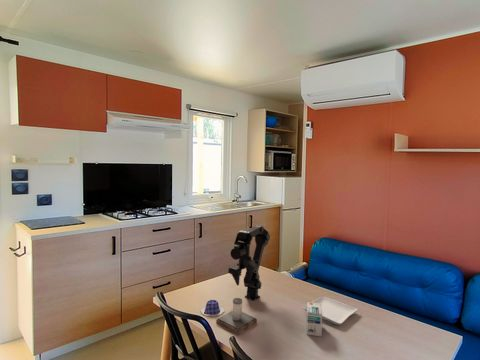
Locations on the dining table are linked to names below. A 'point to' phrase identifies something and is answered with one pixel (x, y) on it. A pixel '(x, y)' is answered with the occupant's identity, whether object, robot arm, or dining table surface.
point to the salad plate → (334, 310)
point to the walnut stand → (236, 322)
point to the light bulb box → (314, 319)
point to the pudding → (212, 308)
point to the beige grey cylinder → (237, 309)
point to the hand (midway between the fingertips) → (243, 282)
